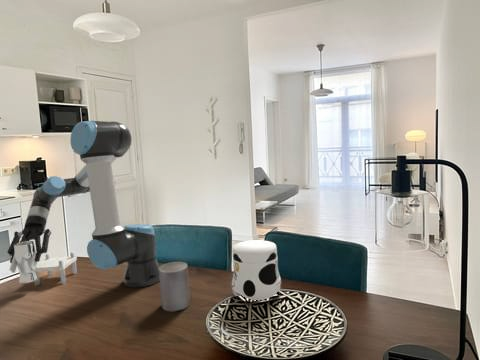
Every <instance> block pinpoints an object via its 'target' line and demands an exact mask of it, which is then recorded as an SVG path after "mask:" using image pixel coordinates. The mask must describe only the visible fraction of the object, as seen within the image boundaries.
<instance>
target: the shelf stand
mask: <svg viewBox="0 0 480 360" xmlns="http://www.w3.org/2000/svg"><path fill="white" fill-rule="evenodd" d="M69 253H70V256H59V257H52V256H51V253H45V259H44V260H43V259H42V261H39V262H38V263H37V264H36V268H35V272H36V275H37V280H35V281H33V282H34V286H39V285H41V283H40V275H39V272H47V276H48V277H51V276H53V271H59V277H60V284H61V285H64V284H66V283H67V281H66V270H65V269H66V268H68V267H70V266H71V271H72V272H71V273H72V275H76V274H77V273H78V270H77V260H78V258H77V255H76V253H75V251H71V252H69Z"/></svg>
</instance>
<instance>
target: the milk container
mask: <svg viewBox="0 0 480 360" xmlns="http://www.w3.org/2000/svg"><path fill="white" fill-rule="evenodd" d="M277 249H278V248H277V244H276V243H274V242H273V241H269V240H264V239H263V240H260V239H257V240H256V239H255V240H254V239H253V240H245V241H241V242H237V243H236V244H234V245H233V246H232V267H233V273H232V279H231V289H232V293H233V295H234V296H235V297H236V295H242V296H243V297H245V298H248V299H251V300H264V299H267V298H270V297H272V296H273V295H275V294H276V293H277V292H278V291H279V290H280V291H281V290H282V279H281V276H280V275H281V274H280V272H279V266H278V265H279V260H278V250H277Z"/></svg>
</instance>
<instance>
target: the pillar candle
mask: <svg viewBox="0 0 480 360" xmlns="http://www.w3.org/2000/svg"><path fill="white" fill-rule="evenodd" d="M159 278H160V281H159V287H160V299H161V308H162V310H164V311H165V312H171V313H173V312H177V311H182V310H185V309H187V308H188V307H189V306H190V305H191V292H190V284H189V283H190V282H189V281H190V280H189V268H188V264H187V262H185V261H184V262H183V261H171V262H168V263H164V264H161V265H159Z"/></svg>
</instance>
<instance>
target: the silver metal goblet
mask: <svg viewBox="0 0 480 360" xmlns="http://www.w3.org/2000/svg"><path fill="white" fill-rule="evenodd" d="M19 242H20V241H19ZM35 252H36V245H35V241H34V240H29V241H24V242H20V243H16V244H14V254H15V260H16V263H17V269H18V272H19V281H18V282H19V283H20V284H29V283H33V282H34V281H35V280H37V275H36V272H35V271H32V270H31V269H30V265H31V261H32V257H33V255H34V253H35Z"/></svg>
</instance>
